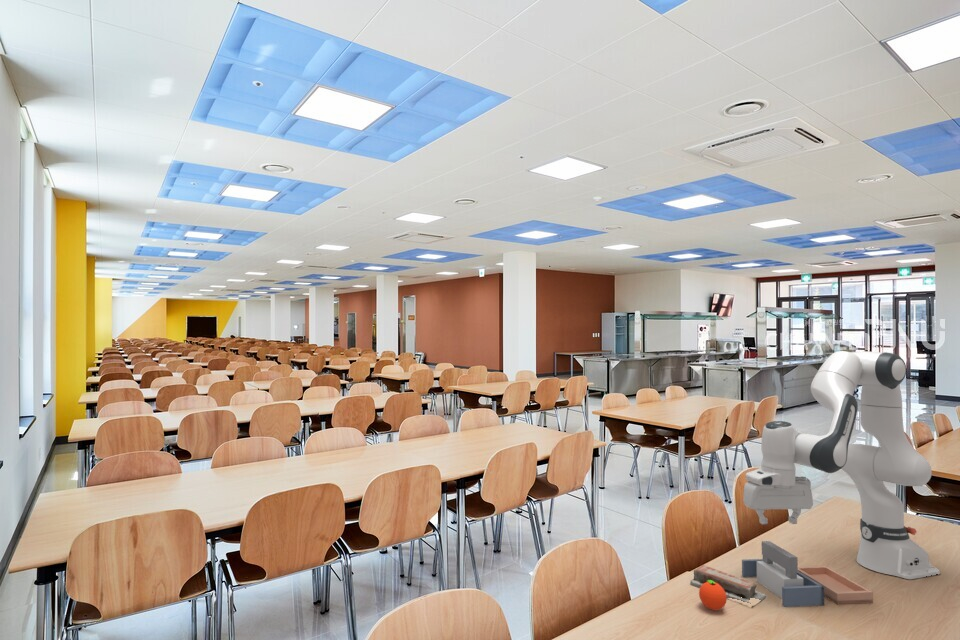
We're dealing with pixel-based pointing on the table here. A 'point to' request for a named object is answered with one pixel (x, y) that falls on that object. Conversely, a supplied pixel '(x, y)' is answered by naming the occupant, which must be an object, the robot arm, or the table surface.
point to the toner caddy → (777, 569)
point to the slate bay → (791, 588)
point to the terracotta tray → (838, 586)
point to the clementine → (712, 595)
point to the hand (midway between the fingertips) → (778, 523)
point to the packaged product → (727, 584)
